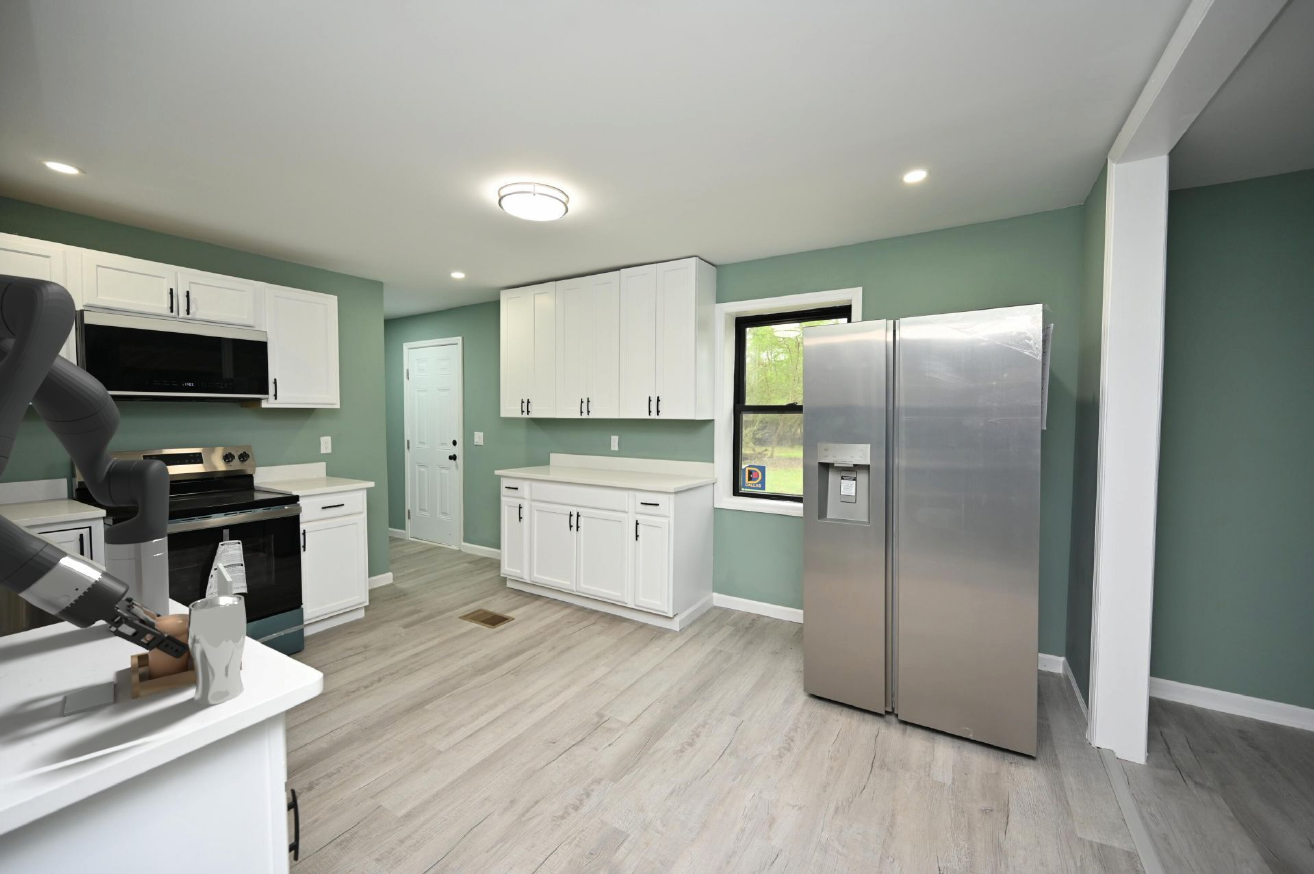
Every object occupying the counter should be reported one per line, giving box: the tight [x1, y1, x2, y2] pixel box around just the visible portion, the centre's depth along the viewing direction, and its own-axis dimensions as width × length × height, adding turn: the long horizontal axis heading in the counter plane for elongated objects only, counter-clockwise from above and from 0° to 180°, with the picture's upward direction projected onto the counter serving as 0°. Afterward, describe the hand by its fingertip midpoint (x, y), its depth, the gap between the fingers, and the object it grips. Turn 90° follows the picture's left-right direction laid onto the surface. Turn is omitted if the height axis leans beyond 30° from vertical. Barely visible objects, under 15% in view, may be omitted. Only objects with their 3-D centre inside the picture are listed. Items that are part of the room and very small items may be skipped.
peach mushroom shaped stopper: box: [146, 613, 189, 680], centre depth 90 cm, size 6×6×9 cm
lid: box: [216, 562, 234, 596], centre depth 96 cm, size 14×1×9 cm, turn 44°
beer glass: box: [187, 594, 247, 707], centre depth 84 cm, size 7×7×15 cm
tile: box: [63, 681, 115, 717], centre depth 83 cm, size 8×5×1 cm, turn 44°
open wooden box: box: [130, 650, 243, 700], centre depth 92 cm, size 14×13×12 cm
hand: (182, 646), depth 92 cm, fingers closed on peach mushroom shaped stopper, 5 cm apart
